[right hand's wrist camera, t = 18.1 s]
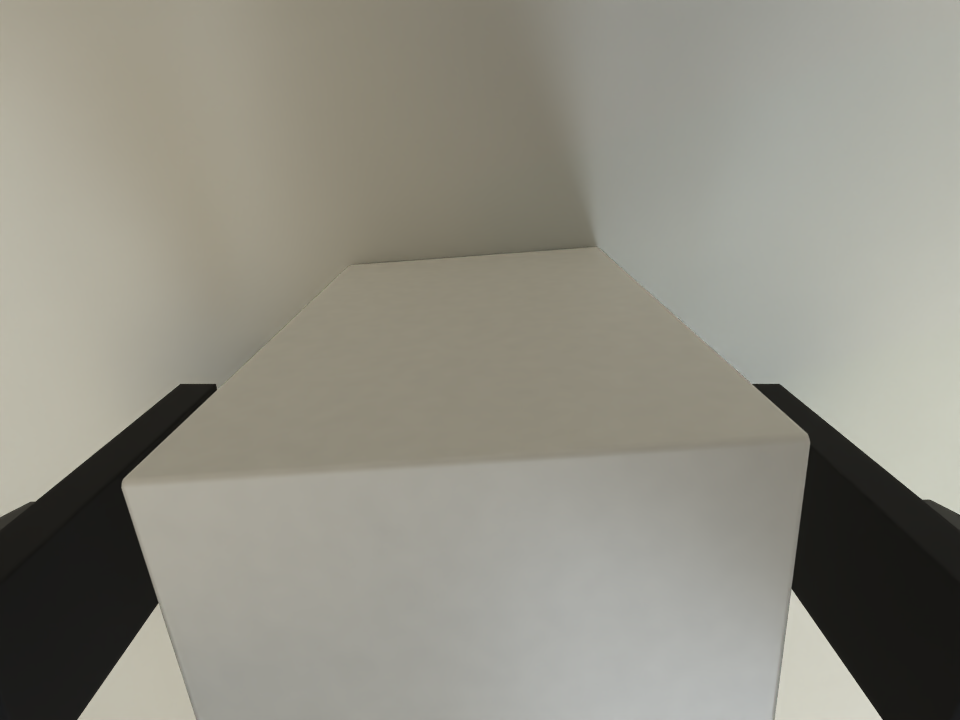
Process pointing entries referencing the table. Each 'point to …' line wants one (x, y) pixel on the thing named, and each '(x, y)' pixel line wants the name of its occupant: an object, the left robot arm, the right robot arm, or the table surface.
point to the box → (478, 508)
